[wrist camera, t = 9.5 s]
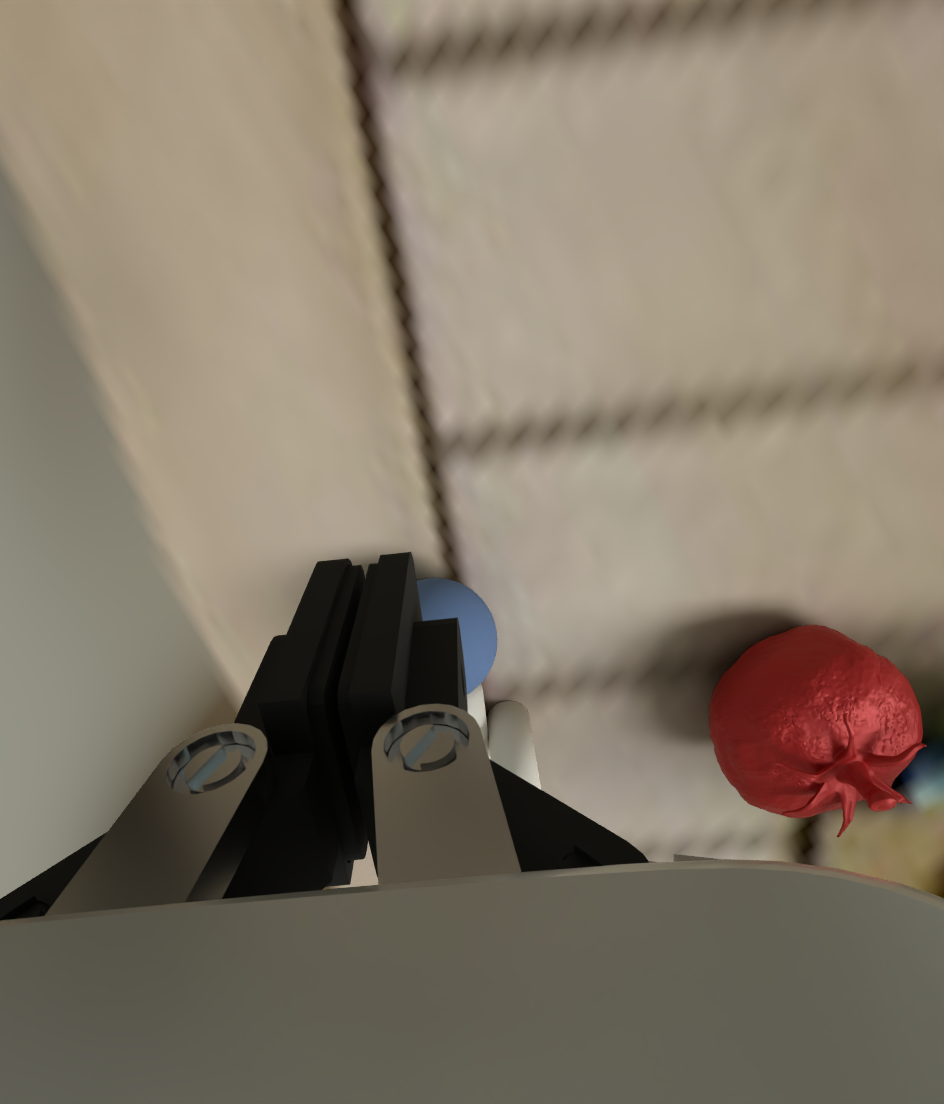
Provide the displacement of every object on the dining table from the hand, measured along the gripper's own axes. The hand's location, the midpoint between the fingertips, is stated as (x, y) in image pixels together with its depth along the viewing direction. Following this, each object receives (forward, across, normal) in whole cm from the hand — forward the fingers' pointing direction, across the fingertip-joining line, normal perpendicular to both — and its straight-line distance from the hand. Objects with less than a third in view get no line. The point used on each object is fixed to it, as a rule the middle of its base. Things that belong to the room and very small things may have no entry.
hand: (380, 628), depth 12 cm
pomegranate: (+19, -18, +18) cm, 32 cm away
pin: (+19, -2, +18) cm, 27 cm away
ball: (+16, +1, +11) cm, 19 cm away
